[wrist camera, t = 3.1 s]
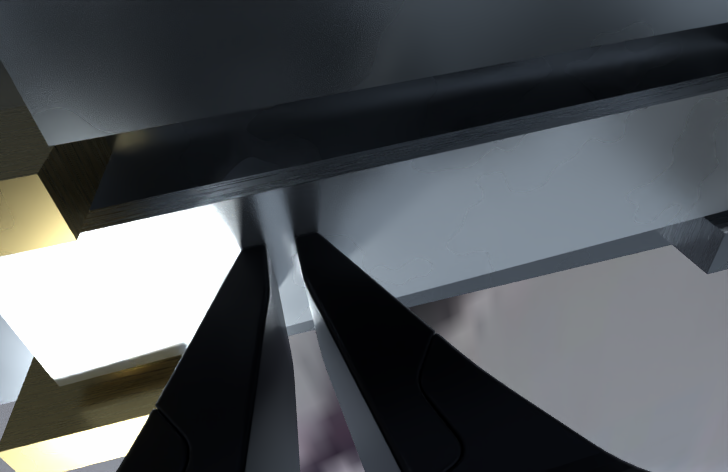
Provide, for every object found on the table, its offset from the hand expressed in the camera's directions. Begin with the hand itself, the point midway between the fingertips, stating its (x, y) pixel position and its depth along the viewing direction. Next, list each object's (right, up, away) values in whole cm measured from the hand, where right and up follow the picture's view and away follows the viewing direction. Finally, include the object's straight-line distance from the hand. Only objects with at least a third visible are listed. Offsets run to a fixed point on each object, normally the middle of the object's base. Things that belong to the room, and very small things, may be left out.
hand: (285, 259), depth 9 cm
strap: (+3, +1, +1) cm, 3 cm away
